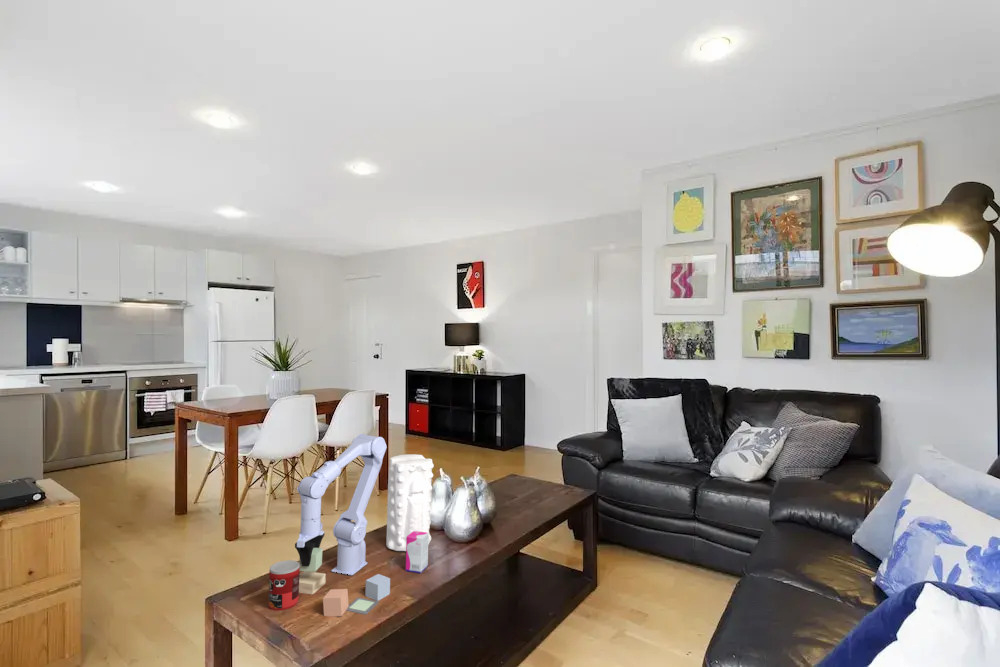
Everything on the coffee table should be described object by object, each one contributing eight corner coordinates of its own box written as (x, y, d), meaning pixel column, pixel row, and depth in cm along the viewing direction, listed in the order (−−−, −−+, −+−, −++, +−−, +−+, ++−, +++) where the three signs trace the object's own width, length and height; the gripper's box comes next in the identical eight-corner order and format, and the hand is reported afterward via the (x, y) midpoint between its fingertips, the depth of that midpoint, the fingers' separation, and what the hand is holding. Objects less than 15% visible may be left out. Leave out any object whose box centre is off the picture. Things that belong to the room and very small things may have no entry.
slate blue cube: (377, 590, 154) (378, 573, 154) (389, 595, 151) (390, 578, 152) (365, 597, 150) (365, 580, 150) (377, 602, 147) (377, 585, 147)
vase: (420, 532, 200) (422, 451, 200) (438, 547, 186) (440, 460, 187) (378, 540, 191) (381, 456, 191) (394, 557, 177) (396, 465, 178)
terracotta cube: (331, 607, 144) (330, 589, 144) (348, 606, 143) (347, 588, 143) (324, 616, 139) (322, 598, 139) (341, 616, 138) (340, 597, 138)
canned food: (264, 604, 145) (265, 565, 145) (292, 594, 150) (293, 557, 150) (274, 614, 139) (275, 574, 139) (303, 604, 145) (304, 566, 145)
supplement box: (428, 566, 171) (429, 532, 171) (421, 573, 165) (422, 538, 165) (412, 563, 173) (413, 530, 173) (404, 571, 167) (405, 536, 167)
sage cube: (305, 563, 157) (306, 547, 157) (321, 564, 157) (322, 548, 157) (299, 570, 152) (299, 554, 152) (315, 571, 152) (316, 554, 152)
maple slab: (305, 582, 158) (305, 571, 158) (325, 585, 157) (325, 573, 157) (291, 593, 152) (291, 581, 152) (312, 596, 150) (312, 584, 150)
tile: (357, 598, 149) (357, 596, 149) (379, 602, 147) (379, 601, 147) (343, 610, 142) (344, 608, 142) (365, 615, 140) (365, 613, 140)
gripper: (314, 526, 147) (312, 573, 147) (332, 509, 162) (331, 552, 161) (290, 525, 147) (288, 572, 147) (310, 508, 162) (309, 551, 162)
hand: (309, 561), depth 154 cm, fingers closed on sage cube, 5 cm apart
